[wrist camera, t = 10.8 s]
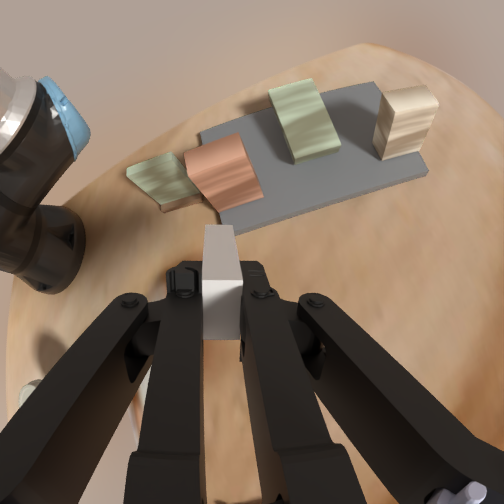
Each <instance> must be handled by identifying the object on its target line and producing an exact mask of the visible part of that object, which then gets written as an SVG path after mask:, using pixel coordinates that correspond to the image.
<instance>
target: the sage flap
mask: <svg viewBox="0 0 504 504" xmlns="http://www.w3.org/2000/svg"><path fill="white" fill-rule="evenodd" d="M268 94H269V100H270V102H271V105H272V107H273V110H274V112H275V115H276V117H277V120H278V122H279V125H280V128H281V130H282V133H283V135H284V138H285V140H286V143H287V146H288V148H289V151H290V154H291V156H292V159H293V162H294V165H297V164H300V163H303V162H306V161H310V160H313V159H316V158H320V157H323V156H326V155H330V154H333V153H337V152H338V151H339V149H340V147H341V142H340V140H339V138H338V135H337V133H336V130H335V128H334V126H333V123H332V121H331V119H330V116H329V114H328V112H327V110H326V107H325V105H324V103H323V101H322V99H321V96H320V94H319V92H318V90H317V88H316V86H315V84H314V82H313V80H312V78H310V79H306V80H302V81H298V82H294V83H291V84H287V85H284V86H280V87H277V88H273V89H270V90H268Z"/></svg>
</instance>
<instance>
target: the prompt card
mask: <svg viewBox="0 0 504 504" xmlns="http://www.w3.org/2000/svg"><path fill="white" fill-rule="evenodd" d="M127 177H128V178H129V179H130V180H131V181H133V182H134V183H135V184H136V185H137V186H139V187H140V188H141V189H142V190H143V191H145V192H146V193H147V194H148V195H149V196H151V197H152V198H153V199H154V200H155V201H157V202H158V203H159V204H160V205H161V211H162V212H163V213H166V212H169V211H173V210H176V209H179V208H183V207H186V206H190V205H193V204H197V203H200V202H203V197H202V192H201V191H200V190H199V189H198V187H197V186H196V185H195V184H194V183H193V182H192V180H191V179H190V178H189V177H188V174H187V170H186V169H185V168H184V166H183V165H182V164H181V163H180V162H179V160H178V159H177V158H176V157H175V155H174V154H173V153H172V152H168V153H166V154H163V155H160V156H157V157H154V158H152V159H149V160H146V161H144V162H141V163H138V164H136V165H133V166H131V167H128V168H127Z"/></svg>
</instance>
